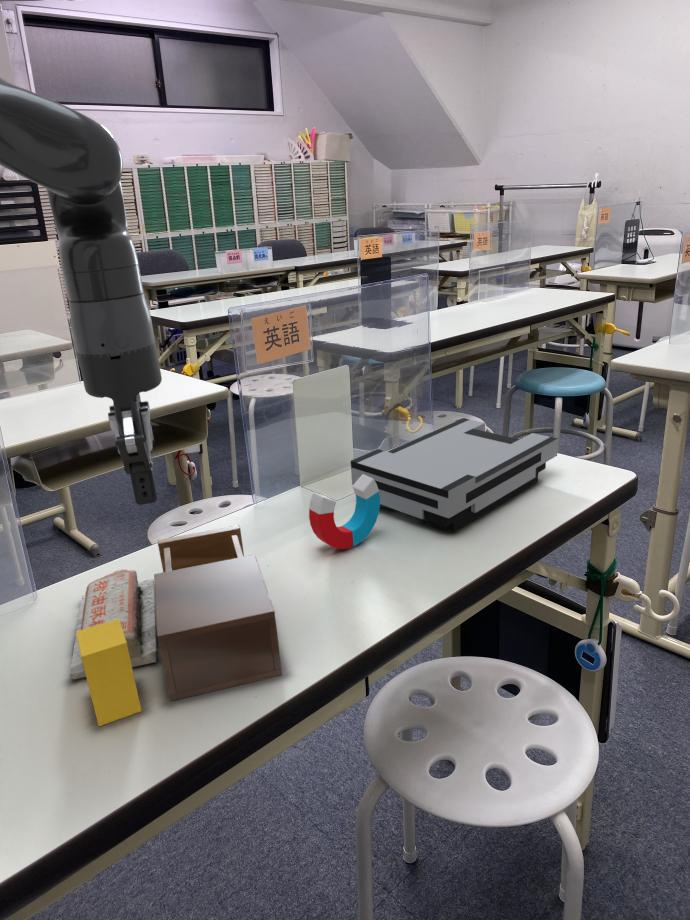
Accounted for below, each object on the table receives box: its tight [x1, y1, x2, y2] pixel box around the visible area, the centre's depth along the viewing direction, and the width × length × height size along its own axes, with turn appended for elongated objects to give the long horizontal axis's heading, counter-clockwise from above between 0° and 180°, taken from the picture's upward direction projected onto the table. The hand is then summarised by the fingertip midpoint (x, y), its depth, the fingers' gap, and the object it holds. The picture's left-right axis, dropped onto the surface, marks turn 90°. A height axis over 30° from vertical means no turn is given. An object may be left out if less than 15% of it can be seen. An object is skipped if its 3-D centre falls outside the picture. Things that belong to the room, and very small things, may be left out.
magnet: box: [308, 474, 381, 550], centre depth 104 cm, size 12×3×10 cm, turn 128°
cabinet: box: [153, 554, 283, 702], centre depth 81 cm, size 14×13×9 cm
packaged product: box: [69, 569, 158, 680], centre depth 88 cm, size 18×5×10 cm
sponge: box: [75, 619, 142, 727], centre depth 74 cm, size 4×5×9 cm
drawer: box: [157, 525, 245, 573], centre depth 94 cm, size 17×11×7 cm
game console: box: [350, 417, 559, 534], centre depth 121 cm, size 21×32×8 cm, turn 134°
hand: (147, 501), depth 74 cm, fingers closed
